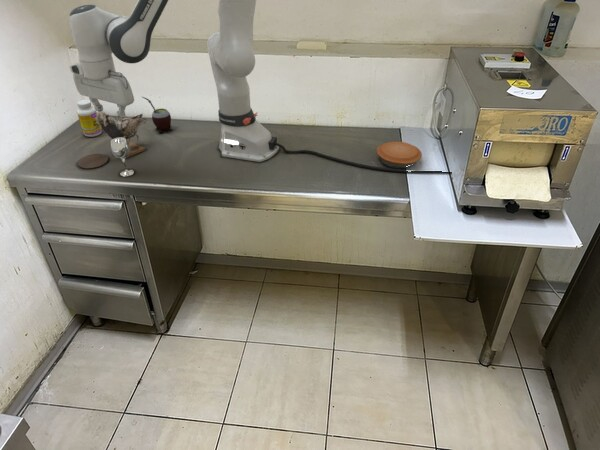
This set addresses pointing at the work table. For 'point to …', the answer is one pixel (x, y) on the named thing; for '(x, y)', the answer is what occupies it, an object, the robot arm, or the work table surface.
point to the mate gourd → (161, 118)
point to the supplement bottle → (88, 118)
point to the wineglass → (121, 152)
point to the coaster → (93, 161)
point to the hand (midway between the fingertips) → (110, 113)
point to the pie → (398, 154)
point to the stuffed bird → (122, 128)
